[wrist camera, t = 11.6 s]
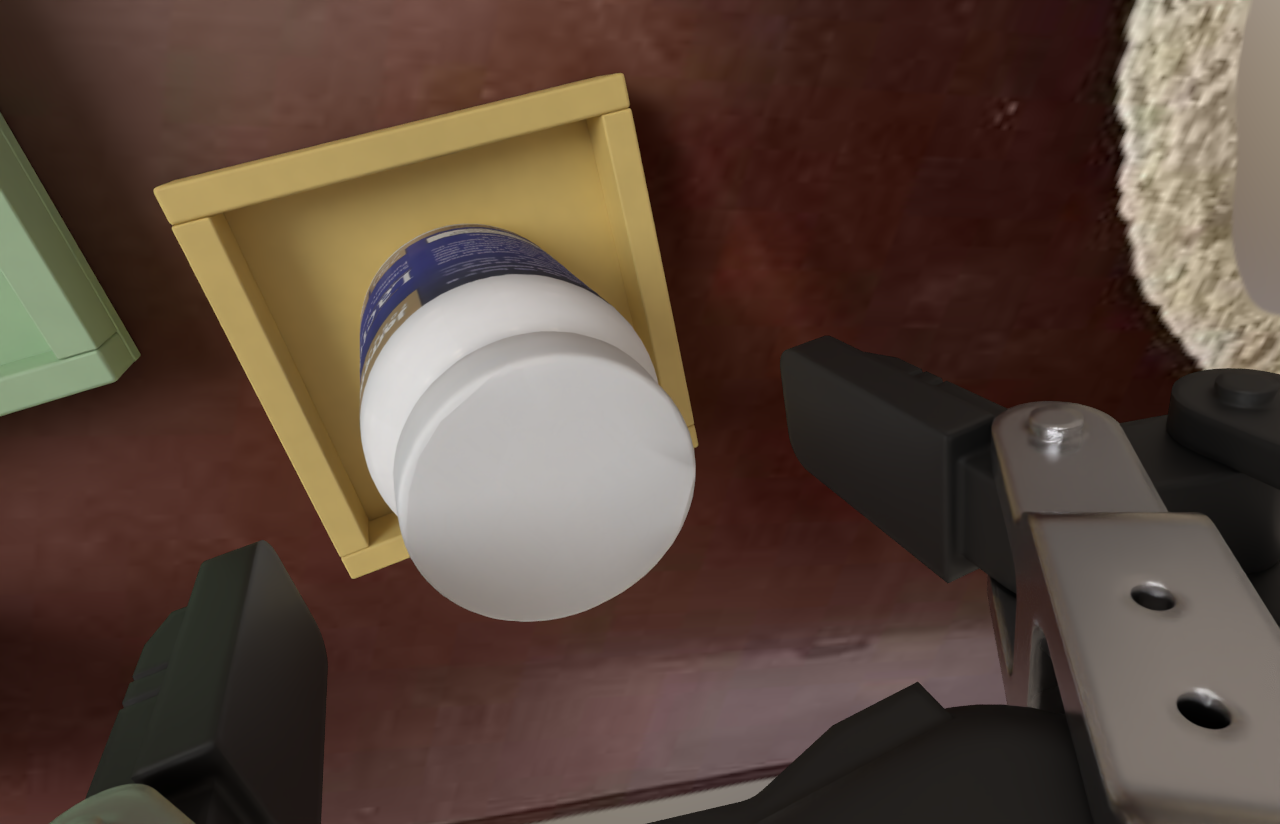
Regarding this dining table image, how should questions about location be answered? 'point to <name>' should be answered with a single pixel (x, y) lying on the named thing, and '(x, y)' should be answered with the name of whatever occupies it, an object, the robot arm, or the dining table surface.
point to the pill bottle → (516, 427)
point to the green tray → (48, 298)
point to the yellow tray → (386, 220)
